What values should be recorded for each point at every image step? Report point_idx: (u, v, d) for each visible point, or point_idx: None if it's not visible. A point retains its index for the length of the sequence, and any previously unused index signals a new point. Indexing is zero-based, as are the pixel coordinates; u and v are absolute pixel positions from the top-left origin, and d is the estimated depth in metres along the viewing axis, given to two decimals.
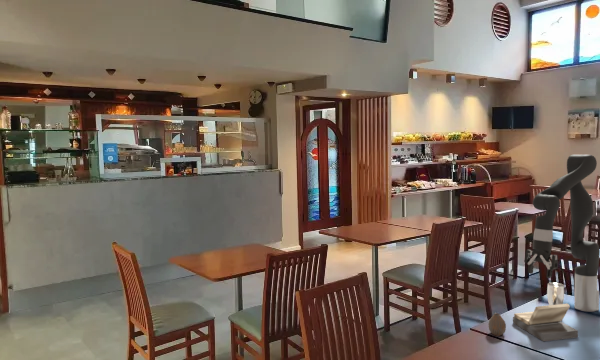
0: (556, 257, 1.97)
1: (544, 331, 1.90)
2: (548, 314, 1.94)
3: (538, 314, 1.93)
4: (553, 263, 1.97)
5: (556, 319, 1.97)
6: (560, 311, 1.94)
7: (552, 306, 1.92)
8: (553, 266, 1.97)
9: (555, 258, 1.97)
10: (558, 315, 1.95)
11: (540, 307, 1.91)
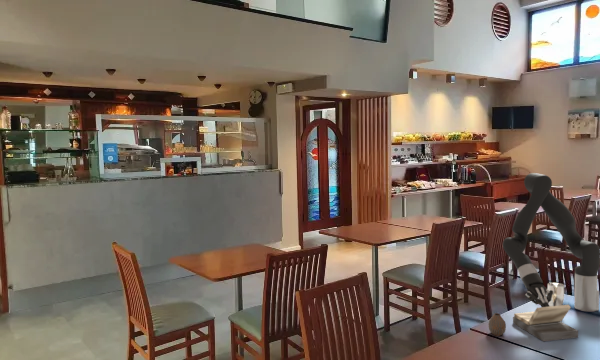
0: (527, 295, 1.99)
1: (544, 331, 1.90)
2: (548, 315, 1.94)
3: (538, 315, 1.92)
4: None
5: (556, 319, 1.97)
6: (560, 312, 1.94)
7: (553, 307, 1.92)
8: None
9: (527, 297, 2.00)
10: (558, 316, 1.95)
11: (541, 308, 1.91)
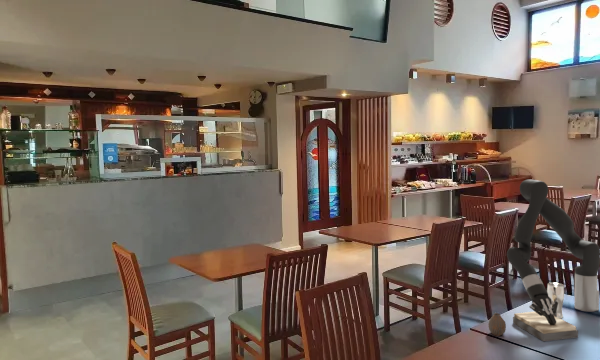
0: (532, 307, 1.96)
1: None
2: None
3: None
4: None
5: None
6: None
7: (559, 330, 1.89)
8: None
9: (532, 308, 1.96)
10: None
11: (547, 331, 1.88)
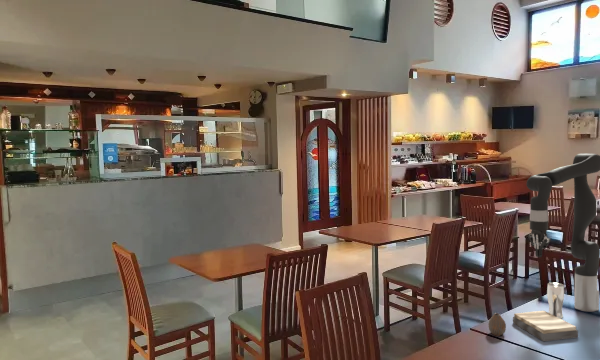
0: (548, 241, 2.04)
1: None
2: None
3: None
4: (542, 245, 2.05)
5: None
6: None
7: (559, 330, 1.89)
8: (540, 246, 2.06)
9: (546, 242, 2.04)
10: None
11: (547, 331, 1.88)
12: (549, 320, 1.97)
